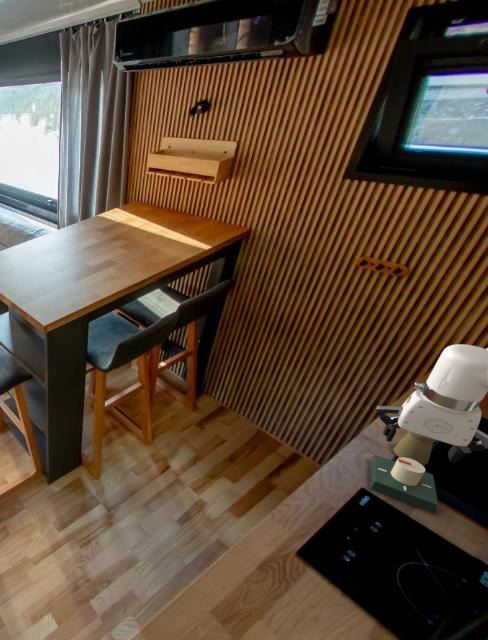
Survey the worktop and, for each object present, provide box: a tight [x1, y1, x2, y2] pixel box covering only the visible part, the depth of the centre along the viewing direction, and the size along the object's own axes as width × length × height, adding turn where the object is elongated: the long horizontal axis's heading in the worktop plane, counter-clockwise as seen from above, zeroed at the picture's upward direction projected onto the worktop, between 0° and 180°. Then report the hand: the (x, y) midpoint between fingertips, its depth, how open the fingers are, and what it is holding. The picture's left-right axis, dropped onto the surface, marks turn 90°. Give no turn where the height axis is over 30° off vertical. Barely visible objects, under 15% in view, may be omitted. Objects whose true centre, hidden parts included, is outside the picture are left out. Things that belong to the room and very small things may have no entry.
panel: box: [369, 454, 439, 513], centre depth 92 cm, size 10×10×3 cm
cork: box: [393, 431, 438, 466], centre depth 96 cm, size 6×6×11 cm
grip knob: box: [391, 457, 426, 486], centre depth 90 cm, size 4×4×5 cm
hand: (418, 447), depth 87 cm, fingers open, 9 cm apart
